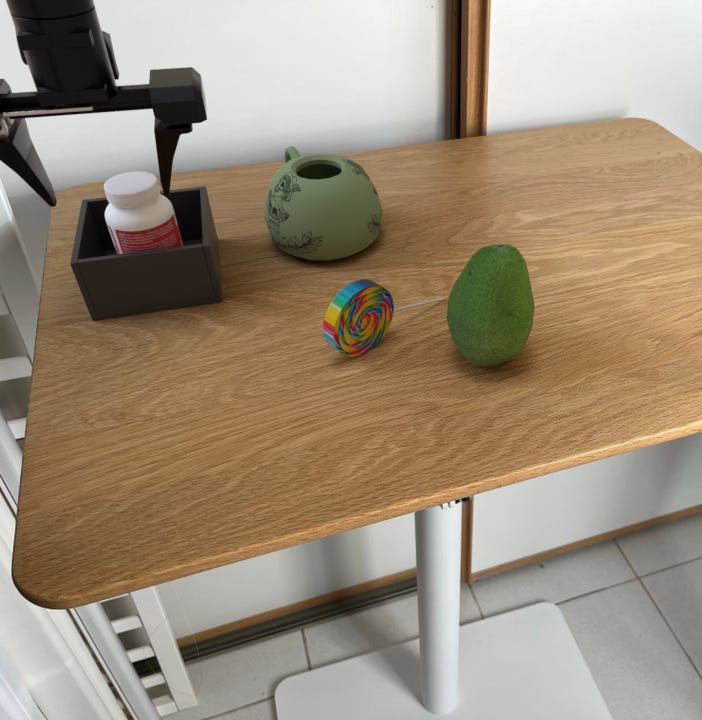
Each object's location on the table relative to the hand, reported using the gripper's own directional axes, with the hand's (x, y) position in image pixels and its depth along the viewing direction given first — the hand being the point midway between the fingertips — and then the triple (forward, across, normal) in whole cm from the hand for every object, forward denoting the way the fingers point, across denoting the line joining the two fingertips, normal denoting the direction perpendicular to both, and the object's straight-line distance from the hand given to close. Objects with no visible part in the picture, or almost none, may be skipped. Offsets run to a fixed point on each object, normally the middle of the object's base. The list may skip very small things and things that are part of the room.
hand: (111, 198), depth 65 cm
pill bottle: (+12, -1, -5) cm, 13 cm away
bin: (+12, -1, -6) cm, 14 cm away
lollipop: (+12, -23, +9) cm, 27 cm away
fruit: (+12, -30, +15) cm, 36 cm away
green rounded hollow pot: (+12, -19, -11) cm, 25 cm away
